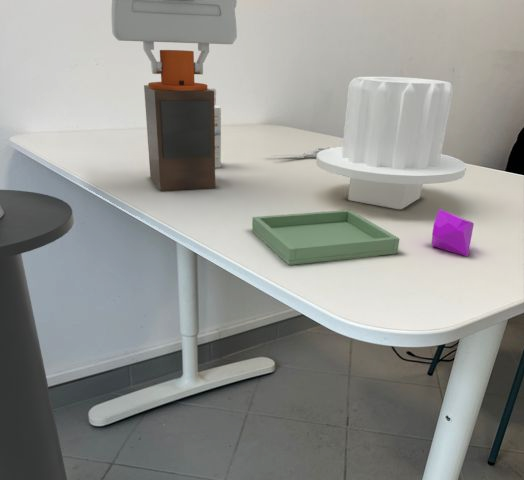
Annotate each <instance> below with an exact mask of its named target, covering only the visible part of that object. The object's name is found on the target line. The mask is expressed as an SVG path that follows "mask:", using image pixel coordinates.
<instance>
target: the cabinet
mask: <svg viewBox="0 0 524 480" xmlns="http://www.w3.org/2000/svg"><path fill="white" fill-rule="evenodd" d="M210 89H211V88H210ZM210 89H206V90H198V91H172V90H158V89H151V88H149V87H148V84H144V85H143V90H144V103H145V105H144V106H145V120H146V131H147V132H146V134H147V135H146V136H147V148H148V163H149V164H148V165H149V178H150V180H151V181H152V182H153V183H154V184H155V185H156V186H157V188H158V190H160V191H161V192H166V191H167V192H168V191H185V190H202V189H203V190H204V189H216V168H215V117H214V91H213V90H210Z"/></svg>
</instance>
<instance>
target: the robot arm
mask: <svg viewBox="0 0 524 480" xmlns="http://www.w3.org/2000/svg"><path fill="white" fill-rule="evenodd" d="M237 2H238V0H111V11H110V12H111V14H110V15H111V16H110V17H111V31H112V32H111V33H112V36H113V37H114V38H115V40H117V41H119V42H142V46H143V47H142V48H143V51H144V53H145V54H146V56H147V59H148V60H149V61H150V66H151V67H150V68H151V74H153V75H161V74H162V69H161V67H162V62H160V61H158V60H157V59H156V57H155V56H154V53H153V52H152V51H154V50H155V43H178V44H179V43H180V44H181V43H182V44H197V51H199V52H200V53H199V55H198V57H197V60H196V61H194V75H203V74H204V63H205V61H206V59H207V57H208V56H209V53H210V45H233V44H234V43H235V42H236V40H237V37H238V30H237V18H236V10H235V9H236V7H237ZM3 215H4V211H3V209H2V207H1V206H0V218H1V217H2V216H3Z"/></svg>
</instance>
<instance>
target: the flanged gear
mask: <svg viewBox="0 0 524 480" xmlns="http://www.w3.org/2000/svg"><path fill="white" fill-rule="evenodd" d="M453 95H454V87H453V85H452V83H451V82H450V81H446V80H445V81H444V80H440V79H439V80H438V79H430V78H419V77H404V76H374V75H373V76H372V75H371V76H357V77H354V78H352V79H351V80H350V82H349V85H348V89H347V99H346V107H345V108H346V109H345V116H344V117H345V119H344V126H343V127H344V128H343V138H342V146H335V147H330V148H329V149H325V150H322V151H320V152H318V153H317V157H316V161H315V164H316V166H317V167H318V168H320V170H323V171H326V172H328V173H331V174H334V175H337V176H341V177H346V178H349V184H348V195H347V200H348V201H351V202H355V203H361V204H368V205H373V206H378V207H383V208H387V209H388V208H389V209H393V210H403V209H405V208H406V207H408V206H409V205H411V204H413V203H414V202H416V201H418V200H419V199H420V198H421V193H422V188H423V185H434V184H442V183H443V184H444V183H449V182H455V181H458V180H460V179H463V178H464V177H465V175H466V171H467V164H466V163H465V162H464V161H462V159H460V158H459V159H458V158H456V157H453V156H451V155H447V154H443V153H442V152H443V148H444V147H443V146H444V142H445V137H446V131H447V125H448V121H449V115H450V110H451V105H452V101H453Z"/></svg>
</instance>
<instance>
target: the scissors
mask: <svg viewBox="0 0 524 480" xmlns="http://www.w3.org/2000/svg"><path fill="white" fill-rule="evenodd" d="M329 148H331V147H329V146H327V147H318V148H315V150H313V151H309V152H305V153H302V154H275V155H273V154H272V157H281V158H280V160H283V159H284V160H285V159H293V158H317V153H318V152H320V151H322V150H325V149H329Z"/></svg>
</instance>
